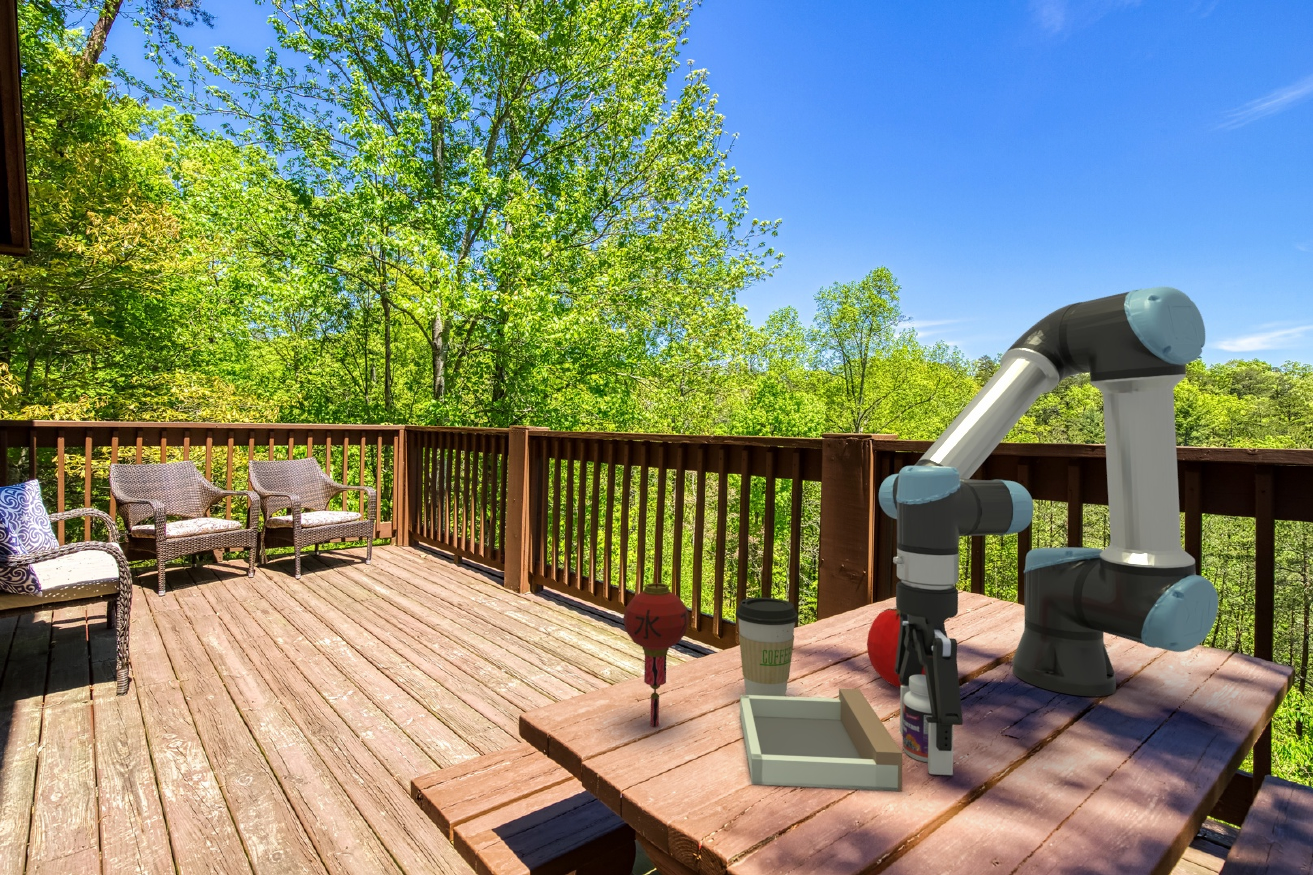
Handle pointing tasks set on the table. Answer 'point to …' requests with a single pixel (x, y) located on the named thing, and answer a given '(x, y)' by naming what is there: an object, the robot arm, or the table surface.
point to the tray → (819, 742)
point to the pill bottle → (916, 718)
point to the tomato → (885, 645)
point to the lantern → (655, 630)
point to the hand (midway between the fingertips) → (924, 751)
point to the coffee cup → (766, 644)
